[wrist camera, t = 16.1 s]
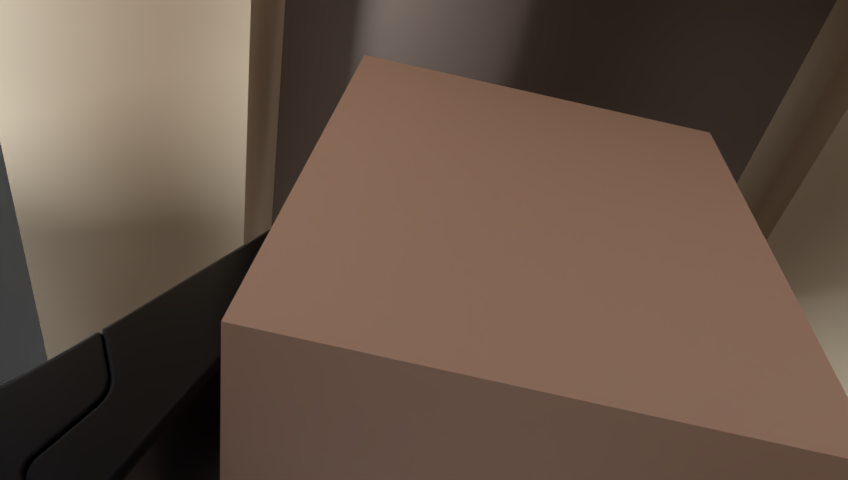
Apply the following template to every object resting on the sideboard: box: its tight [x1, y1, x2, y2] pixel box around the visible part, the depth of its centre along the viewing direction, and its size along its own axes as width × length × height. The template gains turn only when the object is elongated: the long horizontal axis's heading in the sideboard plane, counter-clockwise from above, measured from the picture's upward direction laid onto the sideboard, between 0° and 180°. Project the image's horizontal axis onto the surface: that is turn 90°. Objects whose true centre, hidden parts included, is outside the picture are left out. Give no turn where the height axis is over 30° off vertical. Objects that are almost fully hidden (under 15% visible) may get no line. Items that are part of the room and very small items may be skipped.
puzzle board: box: [0, 0, 848, 397], centre depth 11 cm, size 24×15×2 cm, turn 79°
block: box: [220, 55, 848, 480], centre depth 8 cm, size 4×4×5 cm
